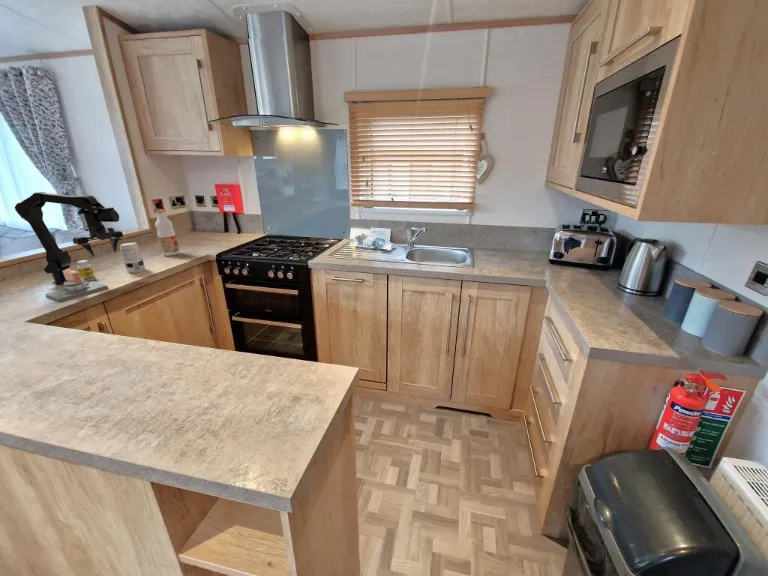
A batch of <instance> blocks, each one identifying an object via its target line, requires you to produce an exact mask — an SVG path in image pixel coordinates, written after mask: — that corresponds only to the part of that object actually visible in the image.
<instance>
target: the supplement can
mask: <svg viewBox="0 0 768 576" xmlns="http://www.w3.org/2000/svg"><path fill="white" fill-rule="evenodd" d="M119 251H120V252H121V253H120V254H121V256H122V260H123V263H124V266H125V269H126V270H125V271H126V272H127V273H130V274H134V273H140V272H143V271H145V269H146V267H145V264H144V260H143V257H142V253H141V250H140V247H139V245H138V244H137V242H125V243H121V244H120V245H119Z"/></svg>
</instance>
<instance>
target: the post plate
mask: <svg viewBox="0 0 768 576" xmlns="http://www.w3.org/2000/svg"><path fill="white" fill-rule="evenodd" d="M87 282H88V283H89V285H88V286H87V288H85V289H83V290H79V291H74V292H67V291H65V292H64V291H63V290H62V288H61V289H57V290H54V291H51V292H45V293H44V294H45V296H46V298H49V299H51V300H53V301H55V302H58V303H62V302H65V301H70V300H72V299H73V300H74V299H76V298H79V297H84V296H87V295H90V294H93V293H98V292H101V291H104V290H107V289H109V287H108V285H106V284H104V283H100V282H98V281H93V280H91V281H87ZM76 285H79V284H76ZM71 286H75V285H71Z"/></svg>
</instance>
